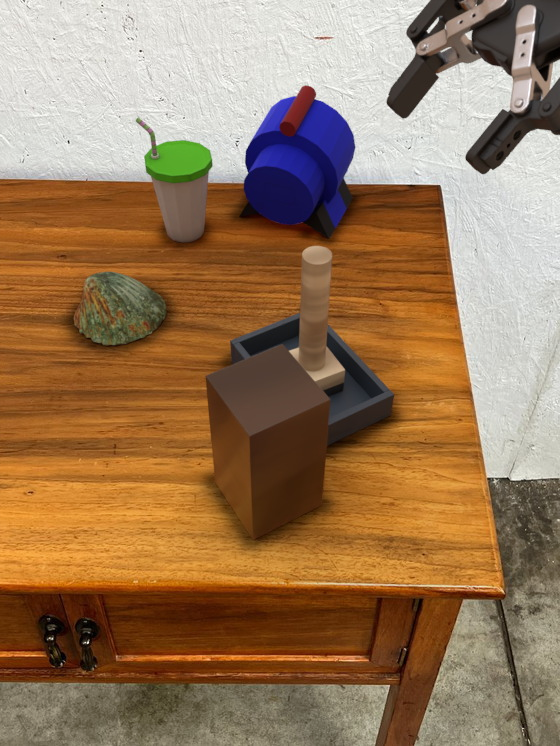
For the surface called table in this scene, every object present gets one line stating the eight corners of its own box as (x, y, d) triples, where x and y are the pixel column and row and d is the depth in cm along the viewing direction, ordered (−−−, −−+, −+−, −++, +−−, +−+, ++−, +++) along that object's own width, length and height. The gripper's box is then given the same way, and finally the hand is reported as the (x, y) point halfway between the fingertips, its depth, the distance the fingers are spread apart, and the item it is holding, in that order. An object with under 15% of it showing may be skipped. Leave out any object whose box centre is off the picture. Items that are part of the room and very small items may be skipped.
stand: (322, 505, 68) (330, 399, 58) (253, 540, 66) (249, 436, 56) (281, 451, 72) (282, 343, 62) (214, 482, 70) (204, 375, 60)
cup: (230, 228, 97) (224, 116, 86) (188, 259, 92) (176, 145, 81) (183, 206, 100) (172, 95, 89) (140, 235, 96) (123, 122, 85)
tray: (391, 415, 76) (394, 394, 73) (305, 457, 72) (306, 435, 70) (311, 328, 84) (312, 307, 82) (231, 361, 80) (229, 340, 78)
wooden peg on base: (343, 390, 77) (355, 262, 65) (300, 407, 75) (305, 278, 64) (319, 360, 80) (327, 232, 68) (278, 375, 78) (279, 247, 67)
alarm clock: (354, 195, 102) (363, 86, 91) (323, 248, 94) (330, 135, 83) (268, 176, 105) (267, 68, 94) (231, 226, 97) (226, 114, 86)
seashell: (99, 327, 78) (51, 278, 83) (102, 358, 80) (56, 308, 86) (182, 292, 83) (131, 248, 88) (182, 322, 85) (134, 278, 91)
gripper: (502, -146, 50) (343, 68, 54) (684, -87, 41) (479, 161, 46) (542, -68, 56) (396, 120, 60) (709, -2, 47) (525, 212, 51)
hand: (432, 138), depth 53 cm, fingers open, 8 cm apart
